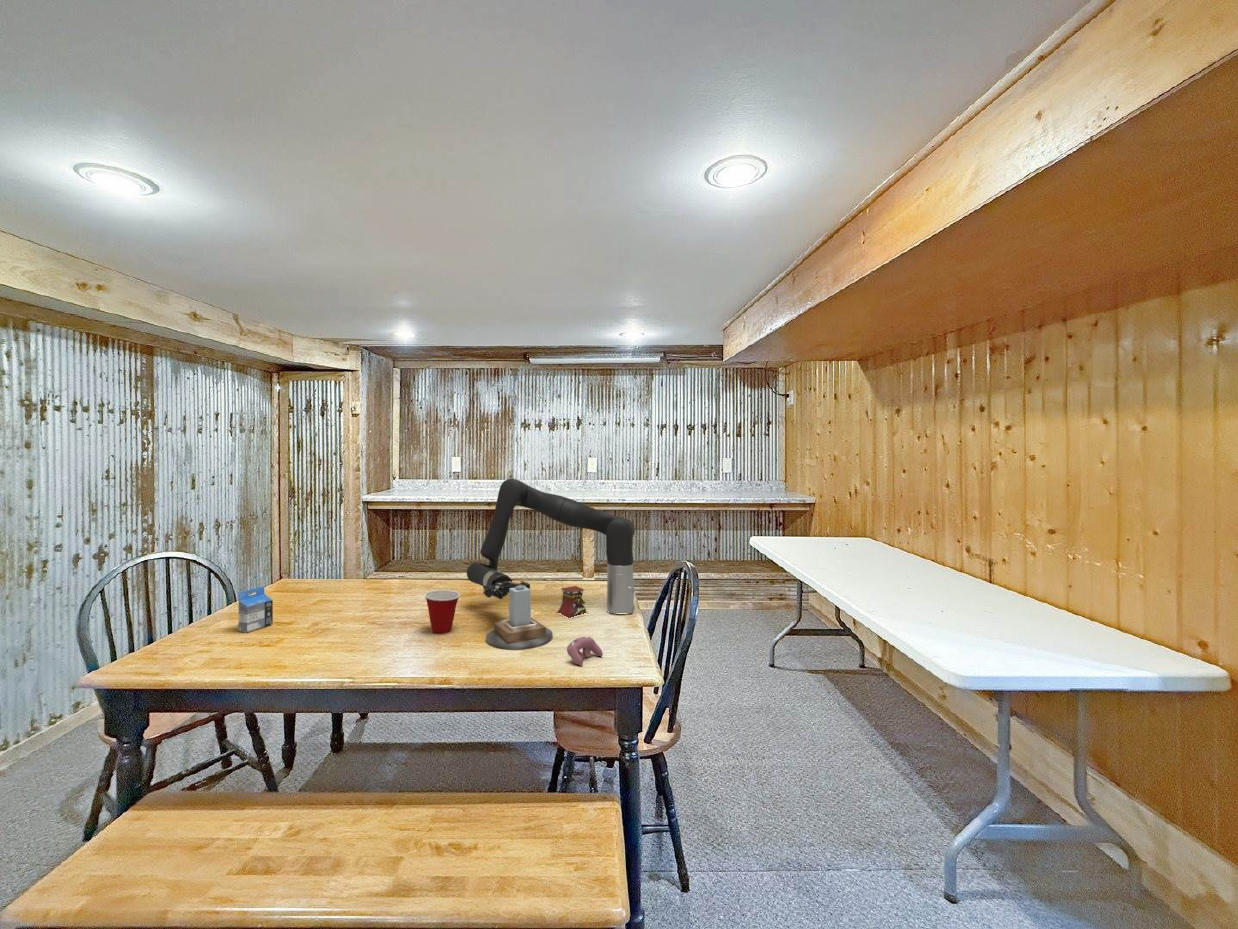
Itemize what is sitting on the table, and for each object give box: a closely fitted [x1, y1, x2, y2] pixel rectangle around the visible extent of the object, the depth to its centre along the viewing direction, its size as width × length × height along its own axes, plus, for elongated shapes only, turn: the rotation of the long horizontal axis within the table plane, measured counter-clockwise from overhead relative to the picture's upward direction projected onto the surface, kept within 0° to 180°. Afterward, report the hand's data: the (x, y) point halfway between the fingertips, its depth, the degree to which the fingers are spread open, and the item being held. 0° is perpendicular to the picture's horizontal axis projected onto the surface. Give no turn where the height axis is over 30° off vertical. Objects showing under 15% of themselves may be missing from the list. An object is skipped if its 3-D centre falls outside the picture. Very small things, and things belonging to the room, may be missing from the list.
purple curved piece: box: [566, 636, 604, 666], centre depth 152 cm, size 10×5×7 cm, turn 142°
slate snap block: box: [508, 586, 532, 627], centre depth 169 cm, size 5×5×12 cm
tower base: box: [485, 617, 554, 651], centre depth 169 cm, size 20×20×5 cm
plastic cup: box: [424, 589, 461, 635], centre depth 175 cm, size 11×11×12 cm
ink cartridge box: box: [238, 586, 274, 633], centre depth 176 cm, size 9×4×12 cm, turn 161°
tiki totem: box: [556, 585, 588, 618], centre depth 194 cm, size 9×9×9 cm
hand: (514, 594), depth 172 cm, fingers open, 8 cm apart
